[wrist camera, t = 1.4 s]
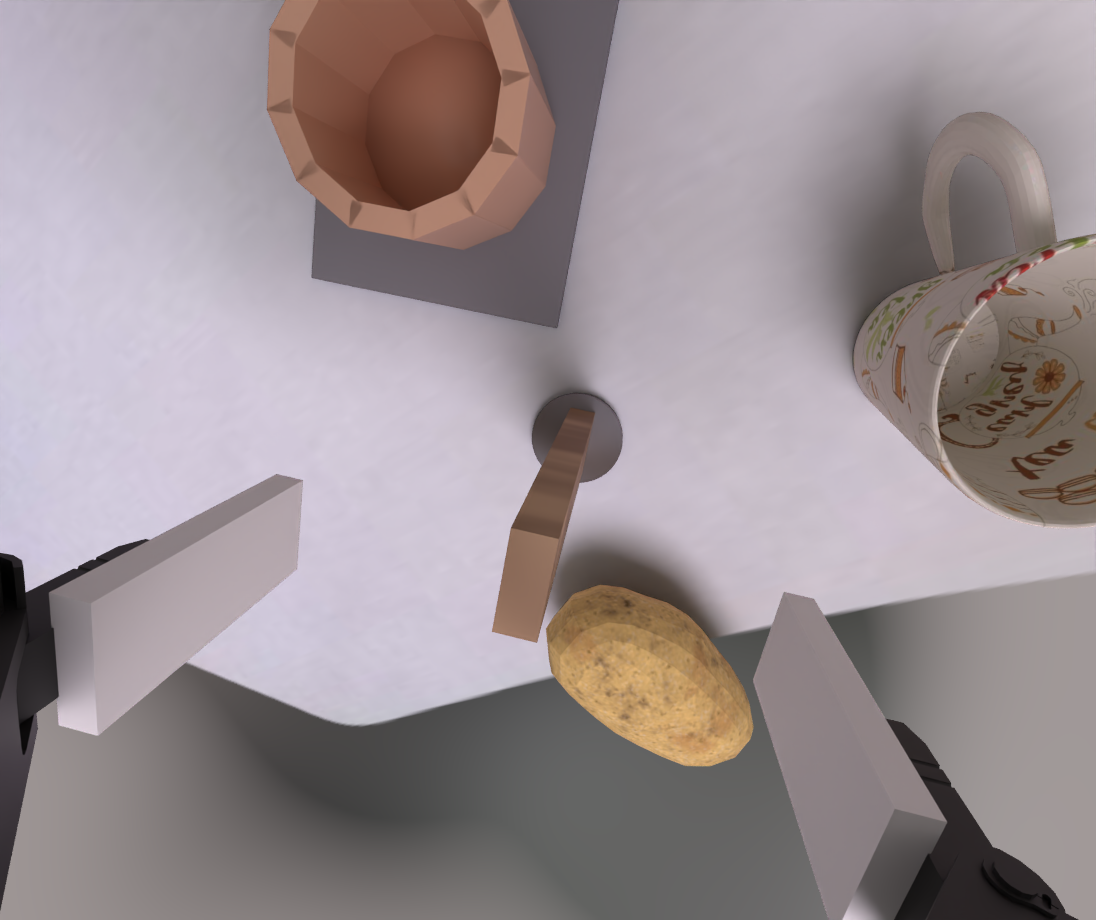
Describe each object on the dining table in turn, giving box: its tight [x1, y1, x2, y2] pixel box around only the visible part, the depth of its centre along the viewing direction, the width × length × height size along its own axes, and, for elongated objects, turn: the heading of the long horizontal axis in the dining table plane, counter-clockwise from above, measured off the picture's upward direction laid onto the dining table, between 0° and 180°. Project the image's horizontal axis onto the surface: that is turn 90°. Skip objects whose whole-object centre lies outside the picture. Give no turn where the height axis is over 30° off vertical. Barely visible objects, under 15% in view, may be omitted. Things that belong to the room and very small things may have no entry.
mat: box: [312, 0, 619, 328], centre depth 26 cm, size 14×12×1 cm
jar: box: [267, 0, 556, 250], centre depth 22 cm, size 9×9×6 cm
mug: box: [853, 112, 1096, 528], centre depth 20 cm, size 8×13×10 cm, turn 21°
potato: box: [546, 585, 753, 766], centre depth 29 cm, size 7×11×6 cm, turn 49°
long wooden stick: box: [492, 393, 623, 643], centre depth 22 cm, size 4×4×15 cm
